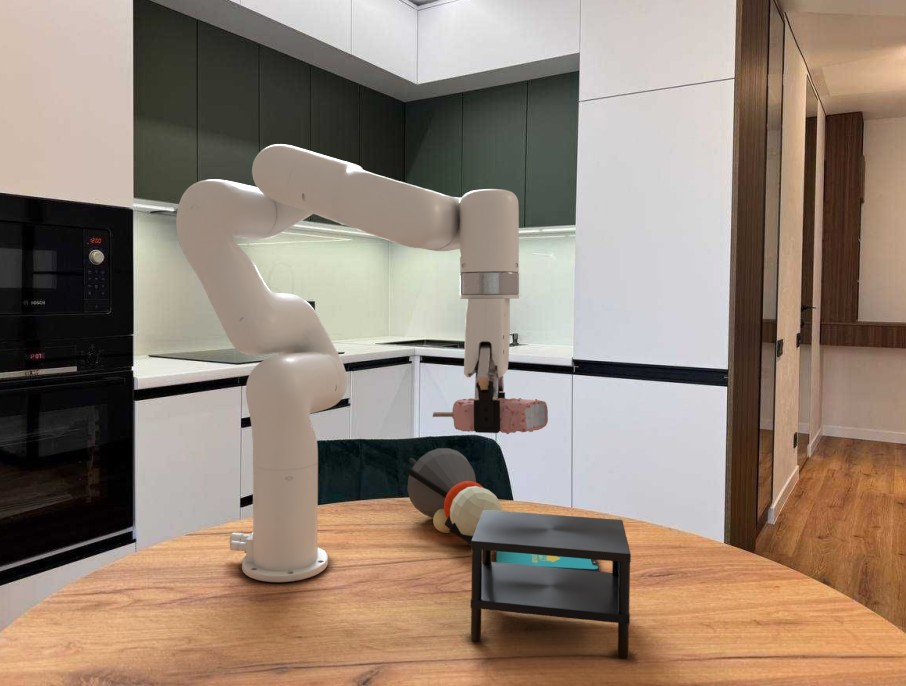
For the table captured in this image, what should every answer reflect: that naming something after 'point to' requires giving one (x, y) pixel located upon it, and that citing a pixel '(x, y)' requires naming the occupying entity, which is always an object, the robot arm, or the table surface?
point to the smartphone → (547, 561)
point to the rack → (551, 569)
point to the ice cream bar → (502, 415)
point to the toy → (449, 492)
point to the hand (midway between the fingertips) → (490, 425)
